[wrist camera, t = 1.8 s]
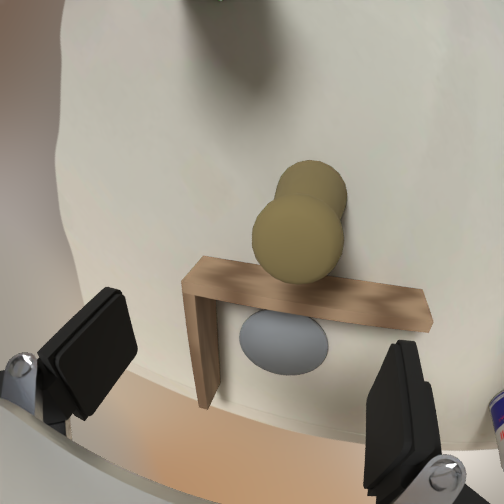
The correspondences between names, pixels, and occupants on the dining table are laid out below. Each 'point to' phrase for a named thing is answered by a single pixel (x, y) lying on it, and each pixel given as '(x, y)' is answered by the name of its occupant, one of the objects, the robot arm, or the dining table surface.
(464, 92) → the dining table surface
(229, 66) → the dining table surface
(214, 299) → the wooden corner wall
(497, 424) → the energy drink
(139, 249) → the dining table surface
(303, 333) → the pad
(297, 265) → the cork
